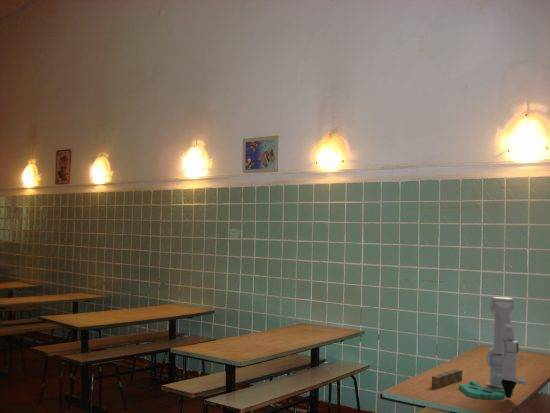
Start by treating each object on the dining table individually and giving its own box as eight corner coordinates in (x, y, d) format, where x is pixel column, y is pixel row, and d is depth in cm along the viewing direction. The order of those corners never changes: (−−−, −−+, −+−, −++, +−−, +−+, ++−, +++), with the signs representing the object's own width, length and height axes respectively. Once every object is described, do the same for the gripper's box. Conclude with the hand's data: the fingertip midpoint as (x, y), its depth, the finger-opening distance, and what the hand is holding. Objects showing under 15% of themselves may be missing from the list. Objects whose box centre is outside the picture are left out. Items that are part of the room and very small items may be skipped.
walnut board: (456, 378, 282) (456, 368, 282) (462, 380, 280) (462, 370, 280) (431, 386, 265) (431, 376, 265) (437, 388, 263) (437, 377, 263)
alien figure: (471, 384, 274) (452, 392, 259) (471, 380, 274) (452, 387, 260) (512, 395, 259) (494, 403, 245) (512, 390, 259) (494, 398, 245)
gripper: (489, 364, 253) (488, 394, 253) (521, 372, 243) (520, 403, 242) (496, 362, 258) (495, 392, 258) (528, 369, 248) (527, 400, 247)
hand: (508, 397), depth 250 cm, fingers closed
